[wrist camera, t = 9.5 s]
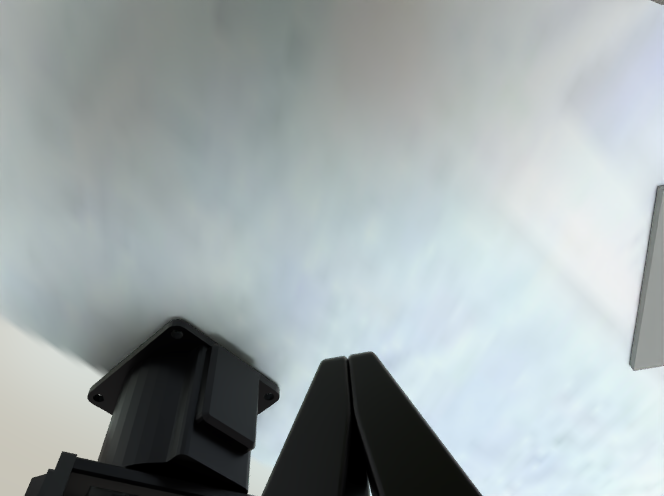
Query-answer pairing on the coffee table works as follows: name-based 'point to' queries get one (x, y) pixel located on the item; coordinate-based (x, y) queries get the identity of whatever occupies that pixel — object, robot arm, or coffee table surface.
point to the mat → (652, 298)
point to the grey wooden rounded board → (659, 1)
